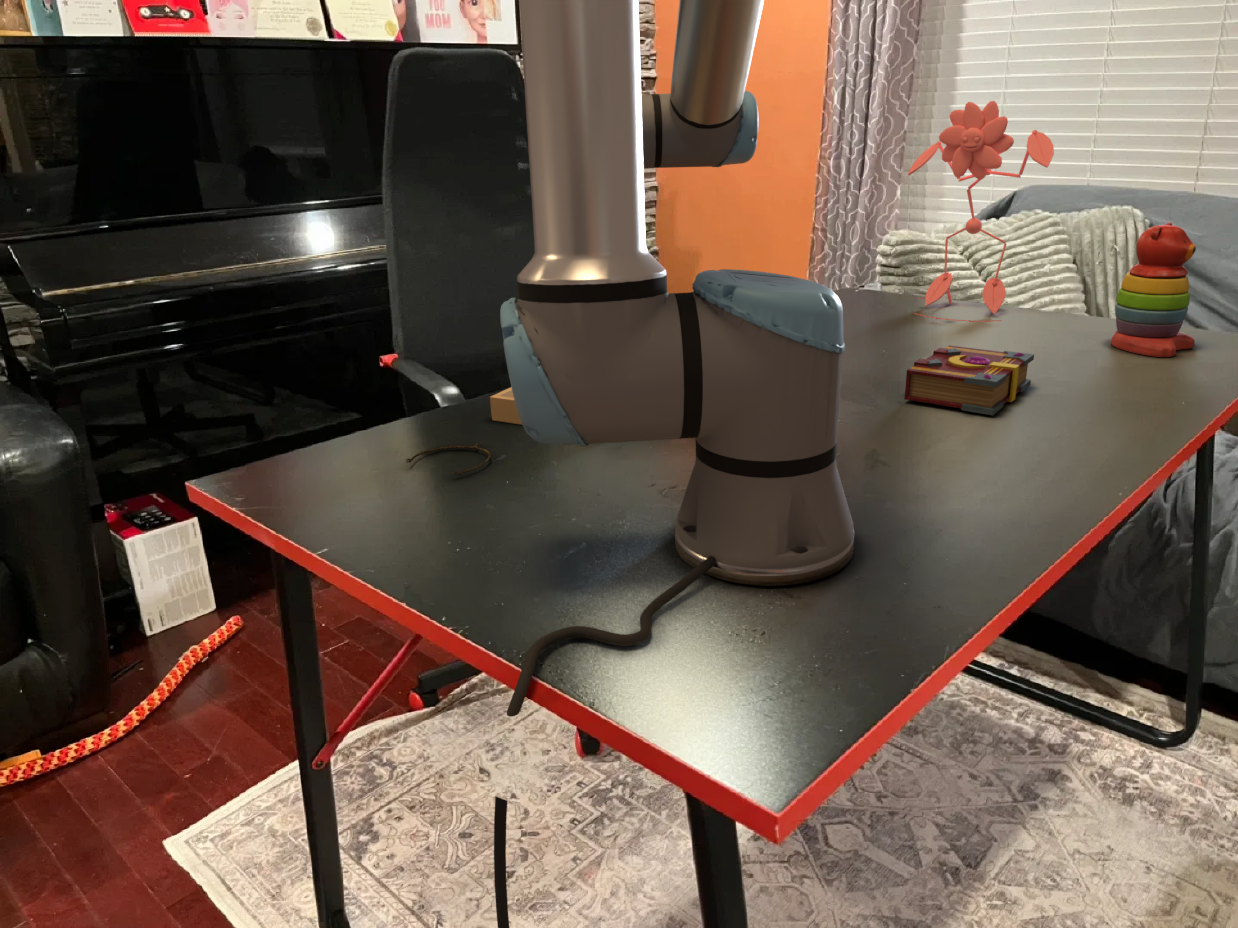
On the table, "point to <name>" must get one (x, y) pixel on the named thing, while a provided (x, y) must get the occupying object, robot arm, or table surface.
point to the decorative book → (968, 378)
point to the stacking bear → (1155, 295)
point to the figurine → (979, 177)
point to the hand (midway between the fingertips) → (595, 397)
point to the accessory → (456, 447)
